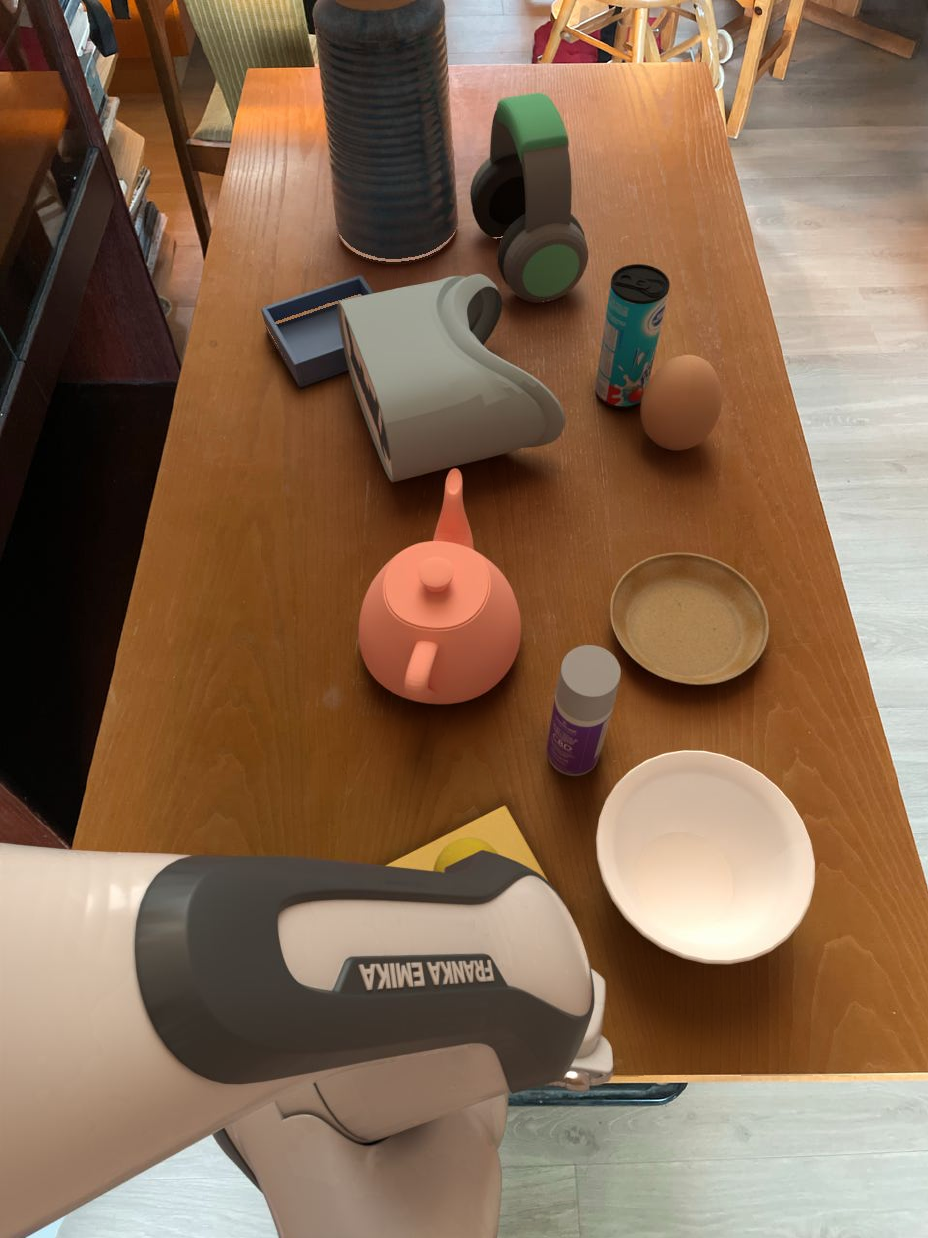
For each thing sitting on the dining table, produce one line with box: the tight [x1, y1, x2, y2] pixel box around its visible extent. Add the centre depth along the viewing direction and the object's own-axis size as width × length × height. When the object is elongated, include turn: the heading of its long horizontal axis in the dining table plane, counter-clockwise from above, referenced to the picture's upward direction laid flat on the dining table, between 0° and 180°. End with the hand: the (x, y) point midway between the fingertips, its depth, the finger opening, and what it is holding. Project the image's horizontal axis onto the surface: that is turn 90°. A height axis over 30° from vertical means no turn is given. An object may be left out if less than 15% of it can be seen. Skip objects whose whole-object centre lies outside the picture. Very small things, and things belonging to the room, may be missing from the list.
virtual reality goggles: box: [337, 273, 566, 483], centre depth 95 cm, size 22×19×13 cm
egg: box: [640, 354, 723, 451], centre depth 93 cm, size 8×8×11 cm
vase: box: [312, 0, 459, 265], centre depth 105 cm, size 16×16×32 cm
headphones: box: [469, 92, 589, 303], centre depth 106 cm, size 19×11×20 cm, turn 15°
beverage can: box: [594, 263, 671, 410], centre depth 95 cm, size 6×6×15 cm
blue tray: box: [260, 274, 375, 388], centre depth 106 cm, size 13×11×4 cm
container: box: [546, 644, 622, 777], centre depth 72 cm, size 5×5×15 cm
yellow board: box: [385, 805, 549, 882], centre depth 71 cm, size 12×10×2 cm
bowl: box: [595, 750, 816, 965], centre depth 68 cm, size 16×16×8 cm
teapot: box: [357, 467, 522, 705], centre depth 79 cm, size 22×15×12 cm
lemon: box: [433, 838, 498, 872], centre depth 67 cm, size 6×6×8 cm
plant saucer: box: [609, 552, 770, 686], centre depth 83 cm, size 15×15×3 cm
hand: (460, 930), depth 64 cm, fingers open, 8 cm apart
